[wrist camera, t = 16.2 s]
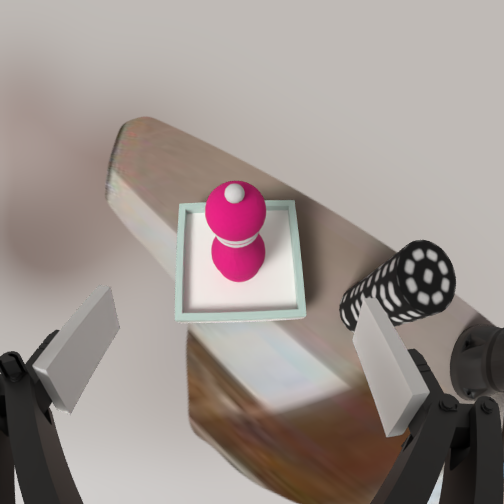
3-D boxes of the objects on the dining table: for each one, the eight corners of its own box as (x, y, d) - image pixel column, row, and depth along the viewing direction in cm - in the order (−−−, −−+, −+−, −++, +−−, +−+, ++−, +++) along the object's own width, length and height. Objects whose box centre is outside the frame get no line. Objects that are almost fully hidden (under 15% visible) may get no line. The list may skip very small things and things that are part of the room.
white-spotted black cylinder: (375, 341, 44) (448, 325, 26) (332, 323, 45) (387, 297, 27) (389, 296, 47) (459, 257, 28) (348, 277, 48) (404, 227, 29)
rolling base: (289, 217, 52) (294, 200, 46) (298, 321, 45) (306, 315, 40) (186, 220, 51) (179, 203, 45) (183, 325, 45) (174, 320, 39)
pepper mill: (247, 230, 46) (248, 144, 27) (273, 269, 44) (293, 200, 25) (205, 254, 44) (179, 177, 25) (230, 295, 42) (217, 242, 23)
